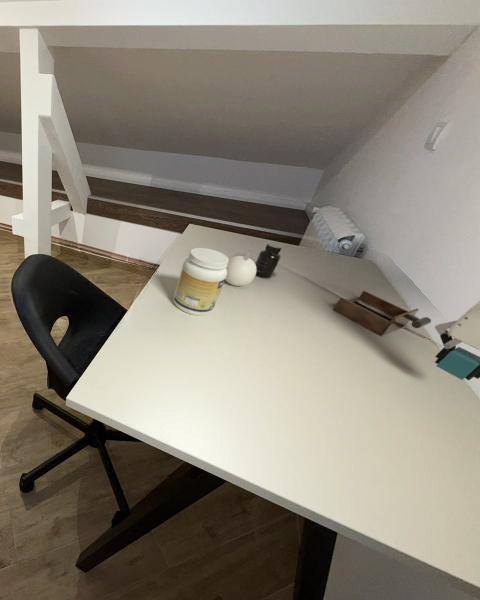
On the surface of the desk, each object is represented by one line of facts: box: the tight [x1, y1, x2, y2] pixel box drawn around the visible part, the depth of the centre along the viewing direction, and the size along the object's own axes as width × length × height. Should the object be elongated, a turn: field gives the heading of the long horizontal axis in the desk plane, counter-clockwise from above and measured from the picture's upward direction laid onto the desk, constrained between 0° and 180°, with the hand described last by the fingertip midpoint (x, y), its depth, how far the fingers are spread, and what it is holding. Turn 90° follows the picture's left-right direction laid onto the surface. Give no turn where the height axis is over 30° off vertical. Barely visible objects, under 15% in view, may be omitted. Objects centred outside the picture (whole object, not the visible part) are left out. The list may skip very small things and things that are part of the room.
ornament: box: [225, 252, 257, 287], centre depth 106 cm, size 10×10×12 cm
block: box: [435, 346, 480, 381], centre depth 69 cm, size 4×4×4 cm
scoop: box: [332, 290, 432, 337], centre depth 95 cm, size 18×14×7 cm
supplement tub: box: [172, 247, 230, 316], centre depth 91 cm, size 12×12×17 cm
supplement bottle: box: [254, 242, 283, 279], centre depth 115 cm, size 7×7×12 cm
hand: (454, 368), depth 70 cm, fingers closed on block, 4 cm apart
